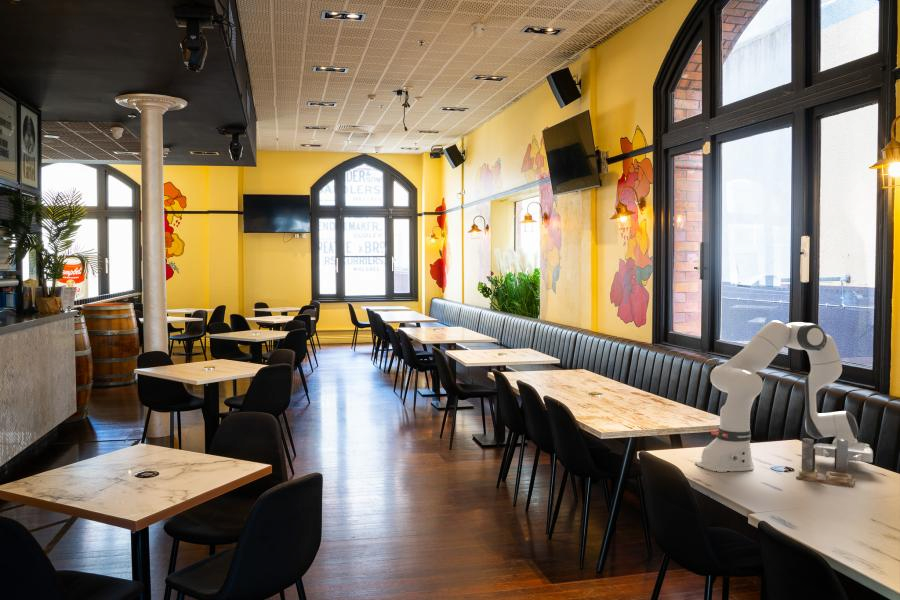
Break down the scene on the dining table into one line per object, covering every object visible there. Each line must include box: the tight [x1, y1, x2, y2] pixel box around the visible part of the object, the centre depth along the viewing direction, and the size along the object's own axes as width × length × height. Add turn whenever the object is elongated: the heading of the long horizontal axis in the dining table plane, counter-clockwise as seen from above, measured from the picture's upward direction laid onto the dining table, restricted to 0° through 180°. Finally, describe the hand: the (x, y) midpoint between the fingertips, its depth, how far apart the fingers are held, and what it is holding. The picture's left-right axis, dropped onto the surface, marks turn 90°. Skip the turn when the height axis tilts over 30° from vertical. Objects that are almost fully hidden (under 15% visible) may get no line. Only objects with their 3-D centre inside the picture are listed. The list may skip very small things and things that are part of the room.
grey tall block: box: [834, 439, 849, 474], centre depth 266 cm, size 4×3×14 cm
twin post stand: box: [795, 438, 856, 488], centre depth 260 cm, size 18×9×14 cm, turn 57°
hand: (841, 457), depth 266 cm, fingers open, 8 cm apart
